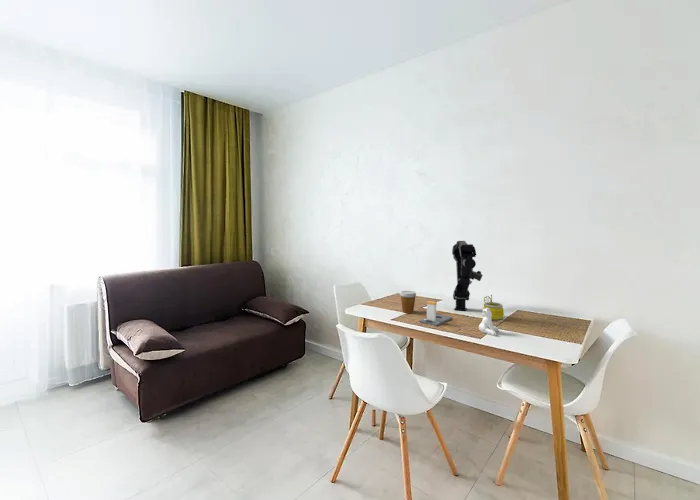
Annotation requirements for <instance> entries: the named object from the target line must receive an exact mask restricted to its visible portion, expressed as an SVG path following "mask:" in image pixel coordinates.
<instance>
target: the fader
mask: <svg viewBox="0 0 700 500" xmlns="http://www.w3.org/2000/svg"><path fill="white" fill-rule="evenodd" d="M437 305H438V304H437V301H432V300H427V301H426V318H427V320H432V321H433V322H435V321H436V314H437Z"/></svg>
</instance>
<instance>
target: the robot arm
mask: <svg viewBox="0 0 700 500" xmlns="http://www.w3.org/2000/svg"><path fill="white" fill-rule="evenodd" d="M451 249H452V250H451V255H452V257H453V260H454V261H455V262H456V266H455V267H456V286H455V287H454V290H453V293H452V297H453V301H455V307H454V309H453V310H454V311H462V312H463V311H464V312H466V310H467V308H468V307H466V301H470V295H471V292H470V290H469V287H470V285H471V284H472V283H473V281H474V280H476V281H479V282H480V281H481V280H482V278H483V276H484V275H483V274H482V271H480V270H478V271H474V268H475V267H476V266H477V265H476V264H477V262H476V261H475V259H473V258H476V256H477V252H476V247H475V246H474V245H473V244H472V243H469V244H468V243H467V242H466V240H457V241H456V243H455V244H454V245H453V246H452V248H451Z"/></svg>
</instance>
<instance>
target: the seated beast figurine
mask: <svg viewBox="0 0 700 500" xmlns="http://www.w3.org/2000/svg"><path fill="white" fill-rule="evenodd" d="M481 312H482V316H483V315H484V316H483V318H482V321H481V322H480V324H479V325H478V329H479V331H480V332H481V333H483V334H485V335H489V336H492V337H496V335H497V332H499V330H500V329H499V327H498V326H495V325H493V320H491V317H492V314H491V311H490V310H489V308H486V309H483V308H482V311H481Z"/></svg>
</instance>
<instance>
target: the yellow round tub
mask: <svg viewBox="0 0 700 500" xmlns="http://www.w3.org/2000/svg"><path fill="white" fill-rule="evenodd" d="M483 302H484V303H483V308H482V310H483V309H486V308H489V310H490V311H491V314H492V317H491V320H492V321H498V320H502V319H503V318H504V315H505V313H504V306H503V304H502V303H500V302H494V301H493V294H491V295H490V296H489V295H485V296H484V298H483ZM482 316H483V317H484V315H483V314H482Z"/></svg>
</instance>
